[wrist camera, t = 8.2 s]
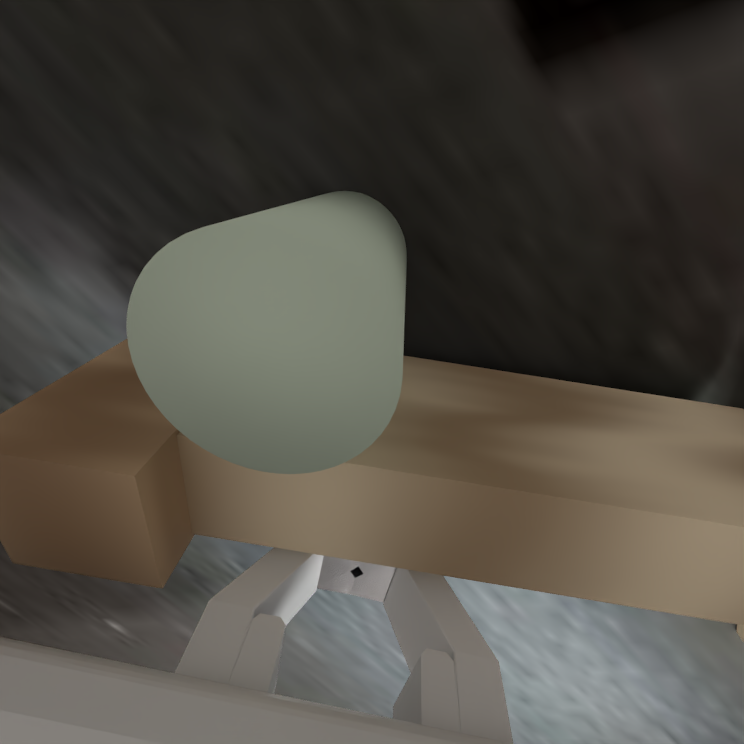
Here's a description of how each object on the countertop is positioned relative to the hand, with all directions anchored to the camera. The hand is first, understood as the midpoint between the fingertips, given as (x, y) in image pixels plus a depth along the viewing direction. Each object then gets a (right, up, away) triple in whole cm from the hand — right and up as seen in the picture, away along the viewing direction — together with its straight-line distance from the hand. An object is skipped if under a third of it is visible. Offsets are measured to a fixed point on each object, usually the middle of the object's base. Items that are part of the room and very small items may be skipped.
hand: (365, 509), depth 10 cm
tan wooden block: (+2, +3, 0) cm, 4 cm away
